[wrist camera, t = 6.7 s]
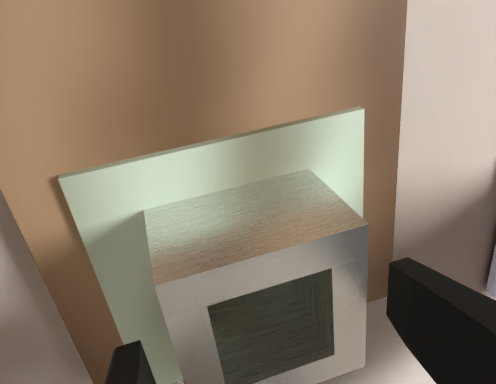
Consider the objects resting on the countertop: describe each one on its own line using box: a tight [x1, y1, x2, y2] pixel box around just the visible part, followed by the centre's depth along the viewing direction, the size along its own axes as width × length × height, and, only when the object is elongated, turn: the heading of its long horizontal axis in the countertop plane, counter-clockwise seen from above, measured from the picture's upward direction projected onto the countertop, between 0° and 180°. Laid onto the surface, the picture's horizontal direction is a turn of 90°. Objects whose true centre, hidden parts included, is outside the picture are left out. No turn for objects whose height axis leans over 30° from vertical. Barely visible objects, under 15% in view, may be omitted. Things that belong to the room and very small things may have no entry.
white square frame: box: [144, 168, 369, 384], centre depth 12 cm, size 5×5×4 cm
